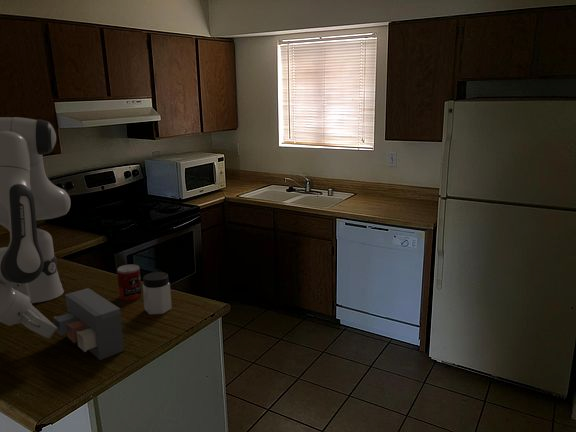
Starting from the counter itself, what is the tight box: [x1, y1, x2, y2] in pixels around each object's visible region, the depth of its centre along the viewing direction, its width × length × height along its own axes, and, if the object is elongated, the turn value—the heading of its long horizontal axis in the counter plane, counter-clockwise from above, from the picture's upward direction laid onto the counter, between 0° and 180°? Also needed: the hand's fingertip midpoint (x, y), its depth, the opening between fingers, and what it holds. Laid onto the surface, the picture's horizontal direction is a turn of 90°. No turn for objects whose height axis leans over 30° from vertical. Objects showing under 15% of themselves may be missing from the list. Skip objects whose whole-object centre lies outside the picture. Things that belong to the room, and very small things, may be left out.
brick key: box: [66, 320, 86, 344], centre depth 139 cm, size 8×4×4 cm, turn 135°
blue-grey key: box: [53, 313, 76, 336], centre depth 144 cm, size 8×4×4 cm, turn 135°
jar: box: [142, 271, 173, 315], centre depth 163 cm, size 9×8×12 cm
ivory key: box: [76, 328, 97, 353], centre depth 135 cm, size 8×4×4 cm, turn 135°
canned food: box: [116, 263, 143, 302], centre depth 174 cm, size 8×8×11 cm
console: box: [64, 287, 125, 361], centre depth 141 cm, size 7×21×13 cm, turn 45°
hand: (55, 329), depth 141 cm, fingers closed
